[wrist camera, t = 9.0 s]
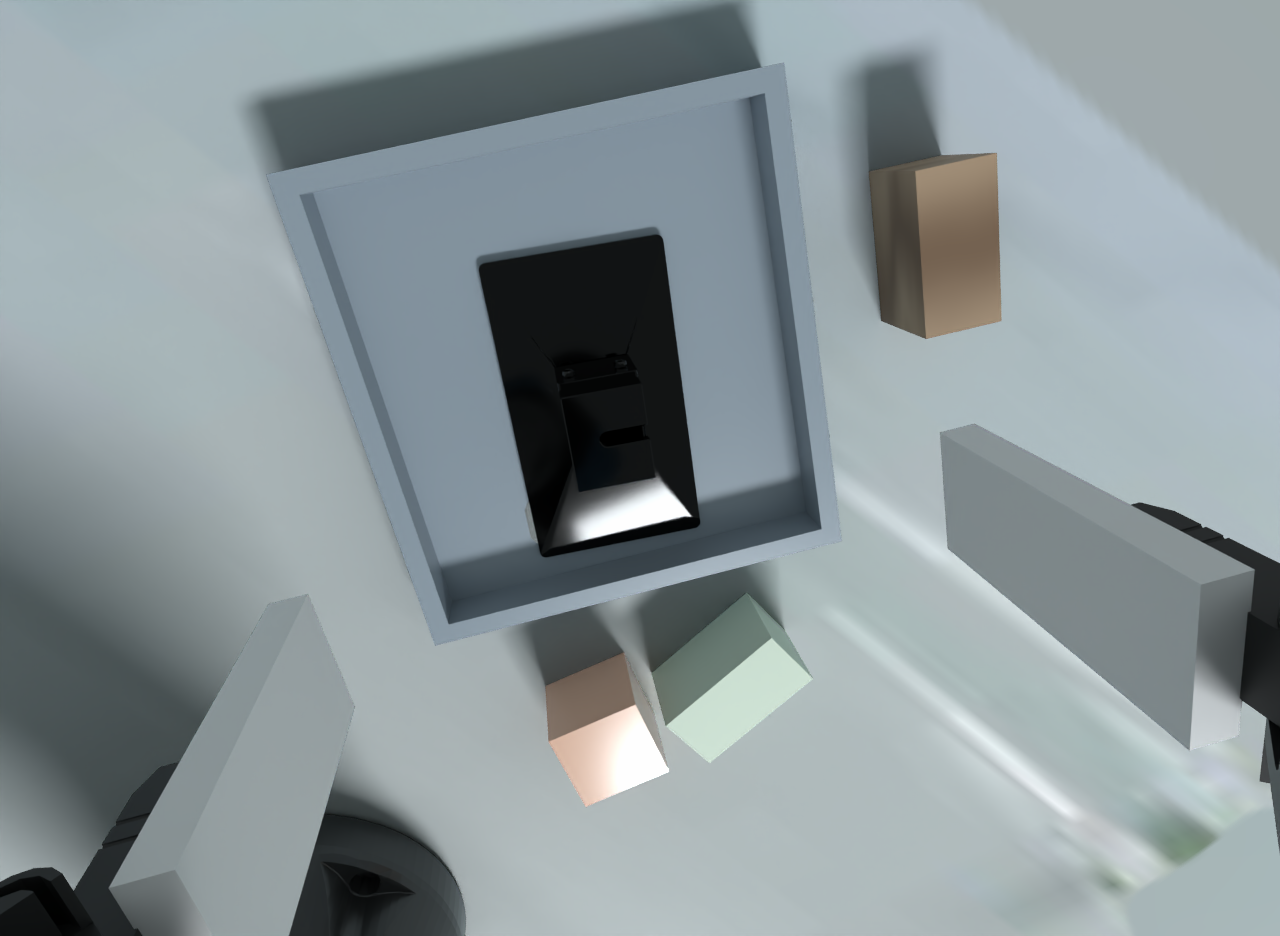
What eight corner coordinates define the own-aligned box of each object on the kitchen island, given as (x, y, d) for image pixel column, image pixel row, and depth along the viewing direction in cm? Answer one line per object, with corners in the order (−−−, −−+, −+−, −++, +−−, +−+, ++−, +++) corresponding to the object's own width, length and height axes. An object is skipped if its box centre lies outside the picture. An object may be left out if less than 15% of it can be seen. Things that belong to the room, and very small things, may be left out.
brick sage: (691, 706, 39) (709, 763, 35) (651, 671, 38) (665, 725, 34) (784, 629, 38) (812, 678, 34) (745, 591, 37) (771, 637, 33)
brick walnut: (947, 304, 33) (1001, 320, 30) (880, 320, 33) (926, 338, 30) (939, 155, 31) (996, 152, 28) (867, 171, 31) (915, 170, 27)
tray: (440, 614, 35) (435, 645, 33) (286, 174, 28) (265, 174, 26) (820, 517, 36) (841, 541, 34) (762, 71, 29) (783, 62, 27)
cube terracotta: (579, 746, 39) (585, 807, 35) (545, 684, 37) (548, 741, 33) (654, 713, 39) (668, 771, 35) (623, 651, 37) (635, 704, 33)
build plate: (699, 523, 35) (724, 574, 30) (534, 555, 34) (537, 612, 30) (661, 232, 30) (685, 244, 26) (470, 264, 29) (462, 281, 25)
